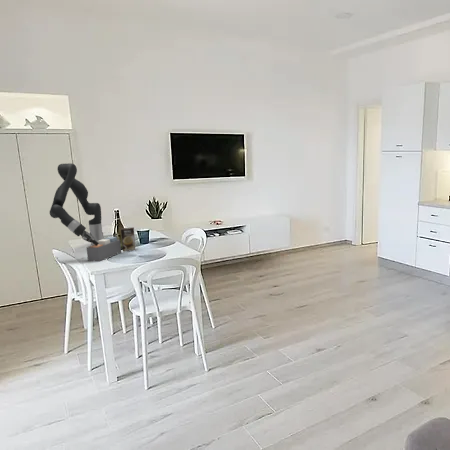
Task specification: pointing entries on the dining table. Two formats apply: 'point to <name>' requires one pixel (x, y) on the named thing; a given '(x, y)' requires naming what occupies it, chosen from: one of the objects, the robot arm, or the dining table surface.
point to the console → (103, 251)
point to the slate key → (112, 239)
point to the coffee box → (128, 239)
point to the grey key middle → (103, 241)
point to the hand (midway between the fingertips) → (97, 244)
